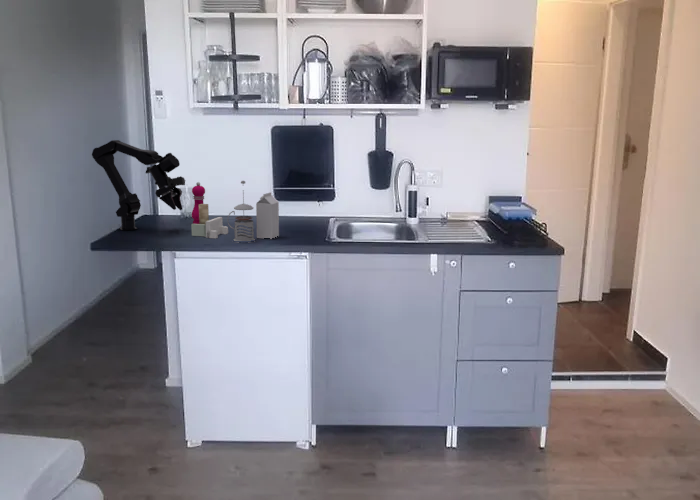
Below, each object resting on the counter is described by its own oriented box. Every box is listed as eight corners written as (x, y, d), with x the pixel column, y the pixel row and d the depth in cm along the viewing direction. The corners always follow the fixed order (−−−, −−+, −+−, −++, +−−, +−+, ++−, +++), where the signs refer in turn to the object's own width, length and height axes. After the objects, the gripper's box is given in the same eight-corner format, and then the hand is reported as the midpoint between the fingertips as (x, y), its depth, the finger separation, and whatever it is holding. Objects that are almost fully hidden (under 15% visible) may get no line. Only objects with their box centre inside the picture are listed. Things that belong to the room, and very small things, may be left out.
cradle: (191, 235, 273) (191, 224, 272) (201, 231, 281) (201, 220, 280) (207, 236, 271) (207, 225, 270) (217, 233, 280) (216, 221, 278)
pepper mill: (203, 226, 296) (202, 183, 291) (189, 225, 297) (187, 182, 293) (210, 223, 303) (208, 181, 298) (195, 222, 304) (194, 181, 300)
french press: (256, 242, 262) (255, 181, 257) (227, 243, 260) (226, 181, 255) (255, 237, 272) (254, 179, 266) (228, 238, 270) (226, 179, 264)
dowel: (197, 233, 276) (196, 204, 273) (205, 231, 279) (204, 203, 276) (203, 234, 274) (203, 205, 271) (211, 233, 277) (210, 204, 274)
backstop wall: (206, 237, 270) (205, 221, 268) (219, 232, 281) (218, 217, 280) (215, 238, 269) (215, 222, 267) (228, 233, 280) (227, 217, 278)
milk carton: (279, 236, 275) (278, 192, 271) (271, 239, 268) (271, 194, 264) (264, 235, 277) (263, 191, 273) (256, 238, 270) (255, 193, 266)
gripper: (170, 166, 265) (188, 200, 265) (183, 170, 284) (200, 201, 284) (147, 179, 266) (165, 212, 266) (161, 182, 284) (178, 213, 285)
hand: (178, 209), depth 275 cm, fingers open, 9 cm apart
